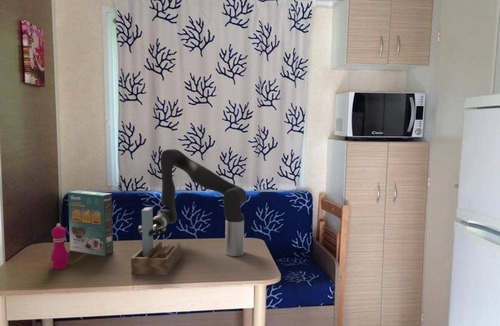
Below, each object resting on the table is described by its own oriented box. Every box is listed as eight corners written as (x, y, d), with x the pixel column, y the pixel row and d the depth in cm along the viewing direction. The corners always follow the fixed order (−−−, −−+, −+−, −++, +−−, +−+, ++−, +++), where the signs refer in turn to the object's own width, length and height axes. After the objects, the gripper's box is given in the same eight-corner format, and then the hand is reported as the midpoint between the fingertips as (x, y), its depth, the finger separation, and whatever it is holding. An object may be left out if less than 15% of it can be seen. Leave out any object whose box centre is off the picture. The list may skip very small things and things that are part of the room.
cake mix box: (113, 252, 204) (111, 193, 201) (105, 256, 198) (103, 195, 195) (79, 247, 212) (77, 190, 208) (70, 250, 206) (68, 192, 203)
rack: (180, 256, 198) (180, 242, 197) (167, 275, 175) (166, 259, 174) (149, 255, 199) (148, 241, 199) (131, 273, 176) (131, 257, 176)
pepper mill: (65, 262, 189) (63, 220, 186) (71, 266, 183) (69, 223, 181) (48, 266, 184) (47, 223, 181) (54, 270, 178) (52, 226, 176)
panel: (153, 261, 191) (152, 207, 188) (149, 266, 185) (148, 210, 182) (147, 261, 191) (146, 207, 188) (142, 266, 185) (141, 210, 183)
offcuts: (174, 260, 194) (174, 243, 193) (166, 270, 181) (166, 252, 180) (160, 259, 194) (160, 243, 194) (152, 269, 182) (151, 252, 181)
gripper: (143, 216, 201) (130, 225, 184) (171, 217, 200) (160, 226, 183) (143, 231, 202) (130, 241, 185) (171, 232, 201) (160, 242, 184)
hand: (145, 234), depth 184 cm, fingers closed on panel, 3 cm apart
